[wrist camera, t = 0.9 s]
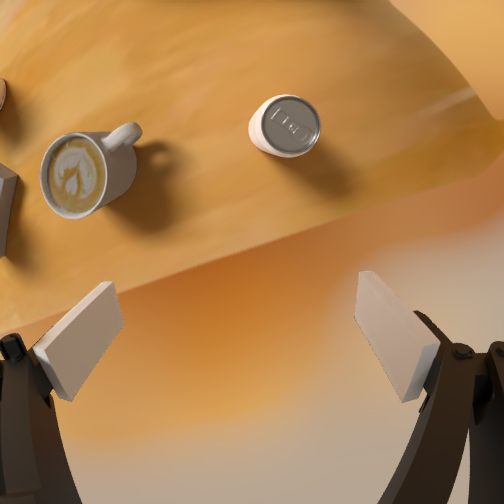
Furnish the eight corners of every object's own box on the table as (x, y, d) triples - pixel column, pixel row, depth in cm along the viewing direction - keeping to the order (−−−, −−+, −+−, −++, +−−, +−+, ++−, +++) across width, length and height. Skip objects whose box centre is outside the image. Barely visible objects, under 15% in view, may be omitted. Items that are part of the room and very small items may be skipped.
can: (276, 162, 36) (296, 173, 25) (238, 133, 34) (241, 129, 23) (305, 127, 34) (338, 122, 23) (268, 97, 32) (285, 78, 21)
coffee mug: (94, 210, 36) (60, 233, 27) (69, 153, 32) (29, 162, 23) (169, 170, 35) (149, 181, 26) (142, 107, 31) (113, 98, 22)
